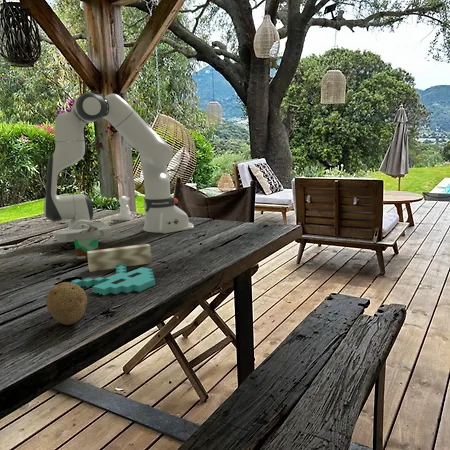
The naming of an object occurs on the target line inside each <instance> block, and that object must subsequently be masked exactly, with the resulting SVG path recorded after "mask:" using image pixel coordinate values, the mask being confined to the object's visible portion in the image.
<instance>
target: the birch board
mask: <svg viewBox="0 0 450 450" xmlns="http://www.w3.org/2000/svg"><path fill="white" fill-rule="evenodd" d="M151 248H152V247H151V245H150V244H149V243H144V244H143V243H142V244H134V245H128V246H127V245H126V246H120V247H112V248H104V249H103V248H102V249H98V250H94V251H87V255H88V260H87V264H88V271H89V272H97V271H98V270H99V271H106V270H111V269H113V270H114V269H116V265H118V264H121V263H122V264H126V268H127V267H132V266H133V267H134V266H139V265H147V264H152V251H151ZM99 271H98V272H99Z"/></svg>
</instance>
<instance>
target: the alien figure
mask: <svg viewBox="0 0 450 450" xmlns="http://www.w3.org/2000/svg"><path fill="white" fill-rule="evenodd" d="M70 282H71V283H74V284H76V285H78V286H80V287H81V286H82V287H84V286H86V287H85V288H91V287H92V293H93V292H94V293H93V294H97V293H99V294H98V295H101V294H102V296H106V295H108V294H114V295H117V294H120V293H122V292H123V293H126V294H129V293H131V292H139V293H141V292H142V291H145V290H146V289H148V288H149V289H150V288H151V287H153V286H156V278H155V275H154V272H153V269H152V268H147V267H142V266H141V267H139V268H137V269H136V268H135V269H133V270H132V271H128V272H127V267H126V264H122V263H121V264H118V265H116V268H115V274H113V275H110V276H106V277H105V278H104V277H101V276H99V277H96V278H89V277H87V278H85V279H78V278H76V279H73V280H70ZM92 285H93V286H92ZM90 286H91V287H90ZM82 287H81V288H82Z"/></svg>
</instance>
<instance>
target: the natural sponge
mask: <svg viewBox="0 0 450 450" xmlns="http://www.w3.org/2000/svg"><path fill="white" fill-rule="evenodd" d="M45 304H46V308H47V310H48V311H49V313H50V314H51V316H52V317H53V319H54V320H56V321H57V322H58V323H60V324H61V325H64V326H65V325H66V326H69V325H70V326H71V325H72V324H75V323H76V322H78V321H79V320H81V319H82V318H83V316H84V314H85V311H86V308H87V305H88V296H87V294H86V292H85V290H84V288H83V287H80V286H78V285H76V284H74V283H71V281H64V282H59V283H58V284H56V285H55V286H54V287H52V288H51V289H50V290H49V292H48V294H47V295H46V299H45Z"/></svg>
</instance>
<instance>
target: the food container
mask: <svg viewBox="0 0 450 450" xmlns="http://www.w3.org/2000/svg"><path fill="white" fill-rule="evenodd" d="M98 235H100V232H99V229H98V228H97V227H94V226H89V229H88V230H84V231H81V232H80V233H73V239H74V241H73V242H74V248H75V255H76V261H77V262H82V261H88V255H87V251H94V250H99V239H98Z"/></svg>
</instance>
